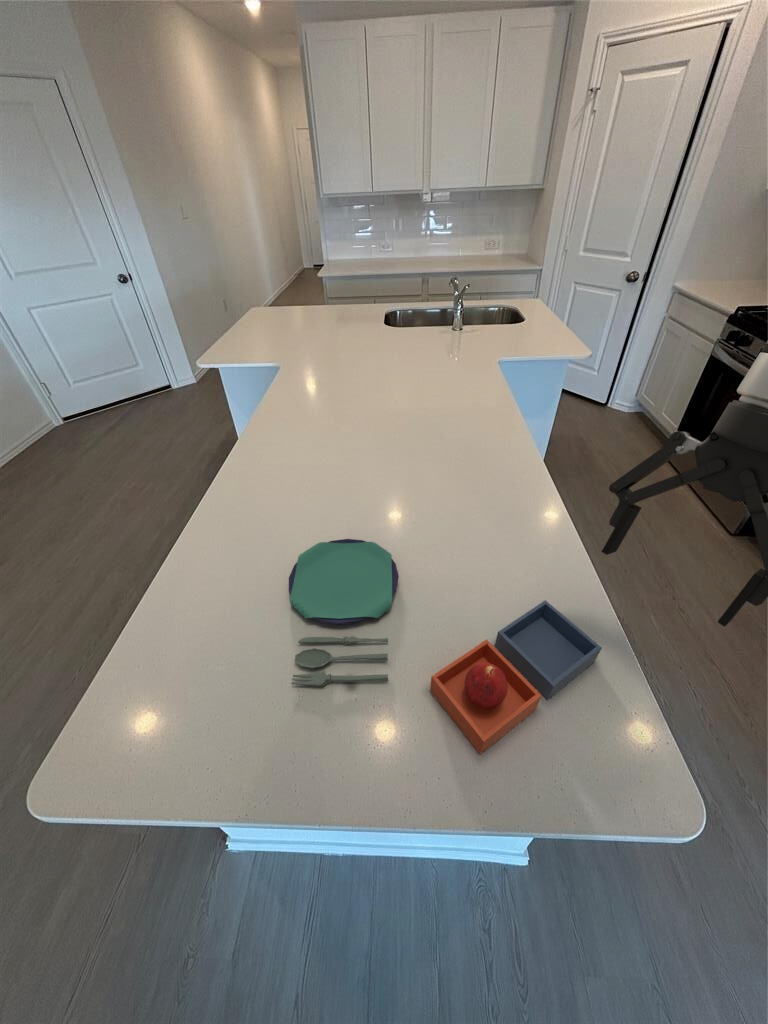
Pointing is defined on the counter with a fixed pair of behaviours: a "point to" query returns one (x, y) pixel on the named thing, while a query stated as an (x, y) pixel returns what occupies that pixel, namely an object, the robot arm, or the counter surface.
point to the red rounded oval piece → (486, 685)
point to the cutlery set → (341, 598)
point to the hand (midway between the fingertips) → (661, 583)
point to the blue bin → (547, 648)
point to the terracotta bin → (475, 720)
